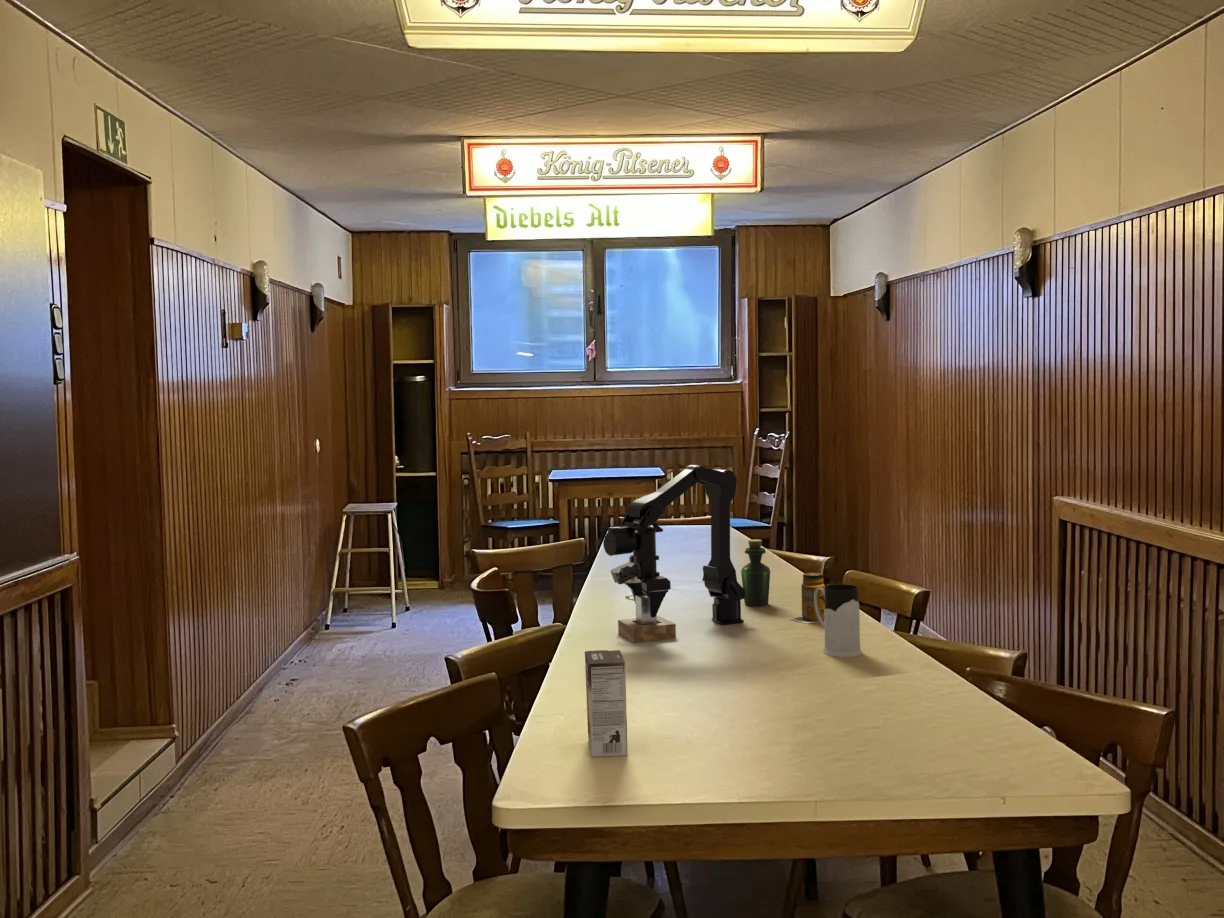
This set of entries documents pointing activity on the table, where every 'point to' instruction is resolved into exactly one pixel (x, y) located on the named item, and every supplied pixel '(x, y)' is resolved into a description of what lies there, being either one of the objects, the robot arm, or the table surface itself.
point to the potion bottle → (755, 576)
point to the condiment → (811, 598)
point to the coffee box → (606, 703)
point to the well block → (646, 630)
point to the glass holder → (840, 620)
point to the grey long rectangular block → (643, 611)
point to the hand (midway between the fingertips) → (646, 613)
